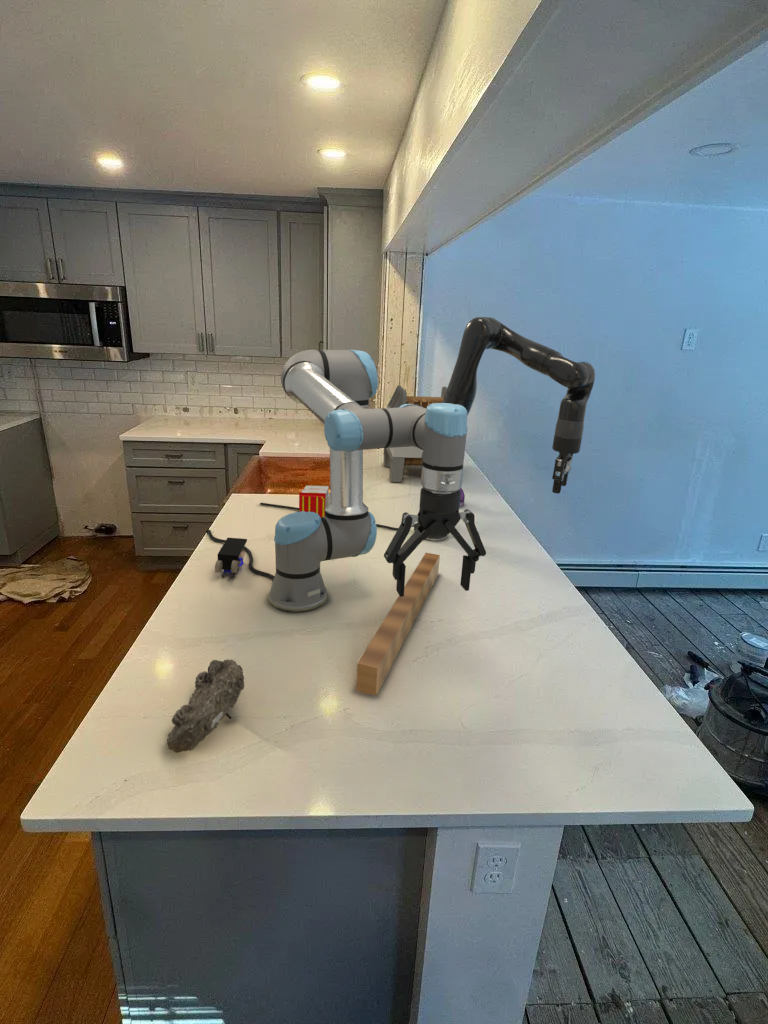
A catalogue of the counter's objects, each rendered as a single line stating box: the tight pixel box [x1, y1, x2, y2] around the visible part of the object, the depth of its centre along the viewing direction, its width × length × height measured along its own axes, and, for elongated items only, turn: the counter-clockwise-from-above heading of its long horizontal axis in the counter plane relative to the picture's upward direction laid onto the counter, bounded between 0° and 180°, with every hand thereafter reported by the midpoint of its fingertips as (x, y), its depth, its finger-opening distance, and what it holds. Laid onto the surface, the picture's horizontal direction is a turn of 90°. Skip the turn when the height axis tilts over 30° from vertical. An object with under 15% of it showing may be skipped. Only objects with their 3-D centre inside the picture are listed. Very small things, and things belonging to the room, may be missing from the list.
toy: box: [298, 485, 331, 517], centre depth 210 cm, size 12×13×30 cm
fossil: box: [166, 658, 245, 754], centre depth 106 cm, size 22×10×15 cm
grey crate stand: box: [383, 384, 448, 483], centre depth 268 cm, size 34×33×41 cm
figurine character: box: [214, 537, 248, 578], centre depth 166 cm, size 7×8×15 cm
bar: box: [355, 552, 441, 696], centre depth 143 cm, size 60×4×7 cm, turn 163°
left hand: (432, 590), depth 113 cm, fingers open, 13 cm apart
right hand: (559, 489), depth 166 cm, fingers open, 8 cm apart
